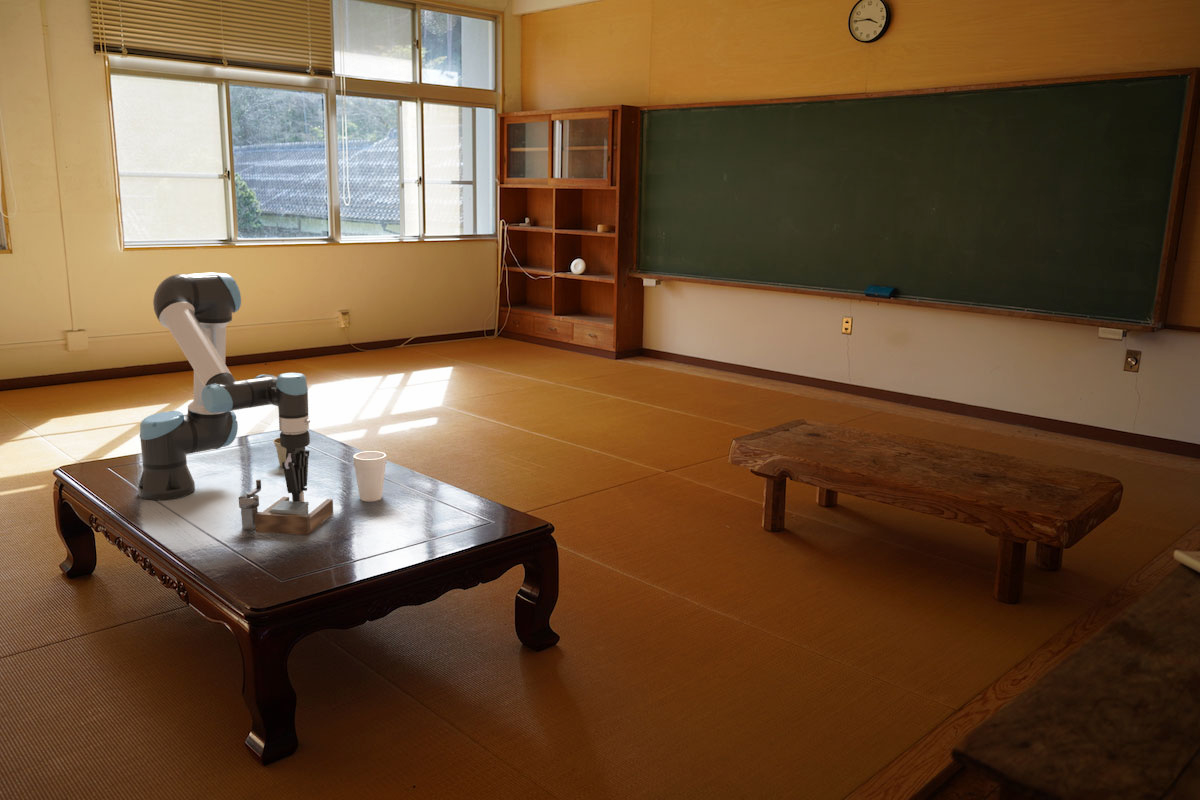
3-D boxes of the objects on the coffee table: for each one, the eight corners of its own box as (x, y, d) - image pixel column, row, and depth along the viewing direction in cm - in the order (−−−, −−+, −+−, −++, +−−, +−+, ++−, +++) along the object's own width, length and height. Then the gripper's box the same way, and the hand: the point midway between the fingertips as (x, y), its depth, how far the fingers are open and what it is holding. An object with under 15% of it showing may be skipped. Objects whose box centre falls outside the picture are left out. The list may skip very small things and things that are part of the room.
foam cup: (393, 496, 273) (392, 453, 271) (374, 505, 265) (372, 461, 262) (368, 491, 277) (366, 449, 275) (347, 499, 269) (346, 457, 266)
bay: (255, 532, 242) (254, 513, 241) (284, 510, 259) (283, 493, 258) (307, 535, 241) (307, 516, 239) (333, 512, 258) (332, 495, 257)
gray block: (272, 530, 243) (270, 509, 242) (283, 521, 250) (282, 500, 249) (298, 532, 242) (297, 510, 241) (309, 523, 249) (308, 502, 248)
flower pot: (299, 469, 297) (298, 444, 295) (270, 469, 297) (268, 443, 295) (308, 461, 306) (307, 436, 304) (280, 461, 306) (279, 435, 304)
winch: (236, 530, 243) (234, 489, 240) (252, 518, 252) (250, 479, 249) (255, 531, 242) (252, 490, 240) (270, 519, 251) (268, 480, 249)
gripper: (298, 437, 240) (302, 523, 245) (317, 425, 252) (321, 507, 257) (270, 436, 240) (275, 522, 245) (291, 424, 253) (295, 506, 258)
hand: (298, 514), depth 251 cm, fingers closed
